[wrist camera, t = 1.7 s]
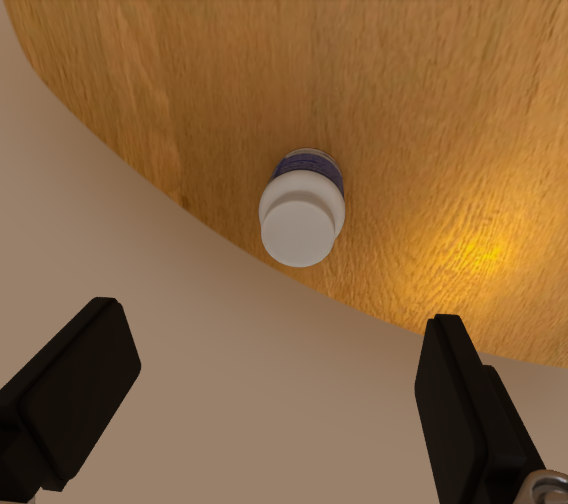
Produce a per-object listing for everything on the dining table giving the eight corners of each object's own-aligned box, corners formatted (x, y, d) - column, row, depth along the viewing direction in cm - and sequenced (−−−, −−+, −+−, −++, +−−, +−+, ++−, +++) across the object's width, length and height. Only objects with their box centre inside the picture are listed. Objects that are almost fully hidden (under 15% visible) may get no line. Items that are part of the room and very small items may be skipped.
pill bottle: (268, 150, 25) (240, 190, 18) (341, 143, 25) (346, 183, 17) (277, 217, 28) (256, 279, 20) (344, 213, 27) (349, 276, 19)
